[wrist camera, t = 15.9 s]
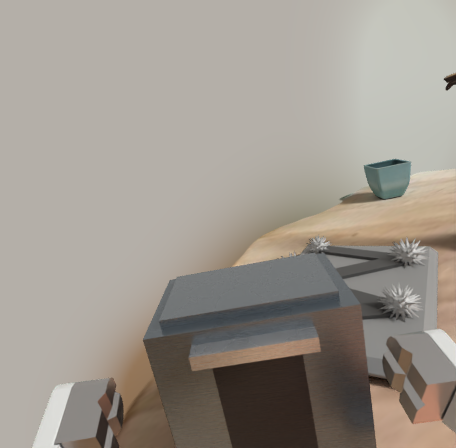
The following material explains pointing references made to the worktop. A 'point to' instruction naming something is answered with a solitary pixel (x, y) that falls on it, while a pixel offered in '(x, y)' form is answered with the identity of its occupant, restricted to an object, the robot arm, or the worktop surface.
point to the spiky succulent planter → (387, 290)
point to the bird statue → (450, 80)
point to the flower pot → (388, 177)
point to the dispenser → (263, 358)
